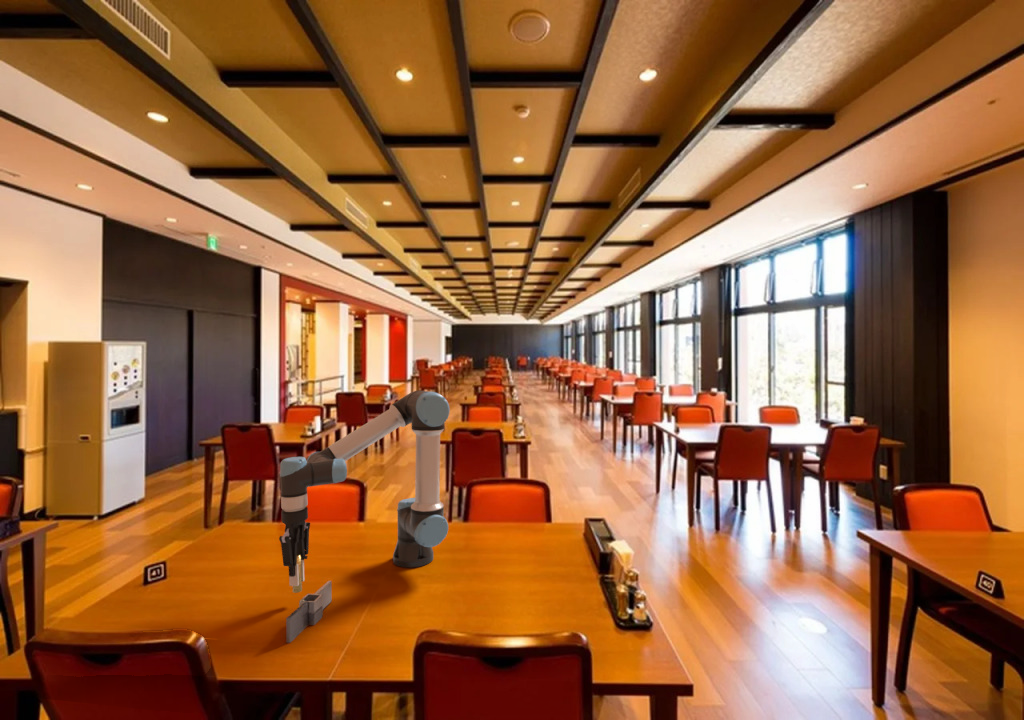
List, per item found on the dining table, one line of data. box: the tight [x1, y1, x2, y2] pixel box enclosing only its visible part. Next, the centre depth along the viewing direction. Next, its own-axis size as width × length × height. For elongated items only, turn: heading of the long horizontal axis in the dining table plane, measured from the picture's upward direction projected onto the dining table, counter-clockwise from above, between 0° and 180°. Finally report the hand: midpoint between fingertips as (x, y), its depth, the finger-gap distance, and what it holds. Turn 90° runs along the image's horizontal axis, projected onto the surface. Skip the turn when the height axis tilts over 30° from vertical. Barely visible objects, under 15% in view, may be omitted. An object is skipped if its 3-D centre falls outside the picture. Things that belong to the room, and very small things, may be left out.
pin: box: [292, 554, 303, 593], centre depth 152 cm, size 3×3×11 cm
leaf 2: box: [285, 602, 324, 644], centre depth 138 cm, size 14×5×7 cm, turn 172°
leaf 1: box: [298, 580, 333, 613], centre depth 147 cm, size 13×5×6 cm, turn 172°
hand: (297, 582), depth 152 cm, fingers closed on pin, 2 cm apart
